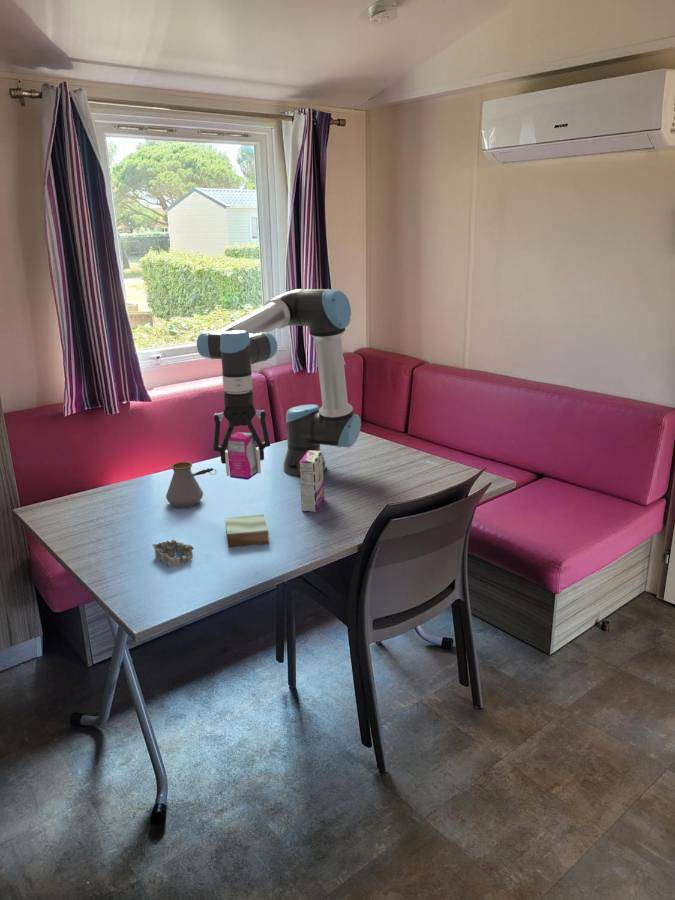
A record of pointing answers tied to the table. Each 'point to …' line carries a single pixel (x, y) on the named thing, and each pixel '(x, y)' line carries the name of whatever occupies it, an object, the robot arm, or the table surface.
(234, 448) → the supplement box
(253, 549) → the table surface
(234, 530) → the block
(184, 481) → the coffee pot
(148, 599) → the table surface
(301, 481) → the candy bar box
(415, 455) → the table surface
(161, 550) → the rocky terrain model
